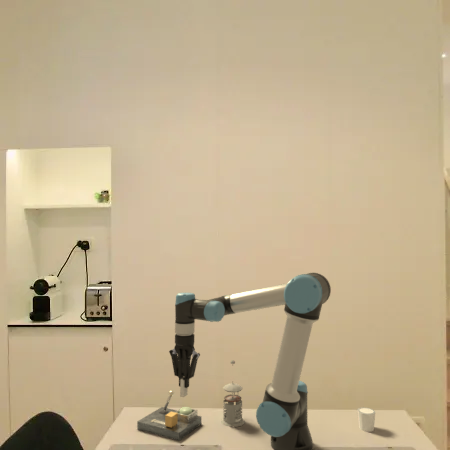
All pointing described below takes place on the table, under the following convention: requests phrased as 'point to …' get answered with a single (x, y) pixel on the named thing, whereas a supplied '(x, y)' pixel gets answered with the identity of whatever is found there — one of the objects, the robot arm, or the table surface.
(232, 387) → the french press
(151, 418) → the panel
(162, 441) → the table surface
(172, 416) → the yellow cube
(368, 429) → the white cylinder
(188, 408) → the push button
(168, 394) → the toggle lever
